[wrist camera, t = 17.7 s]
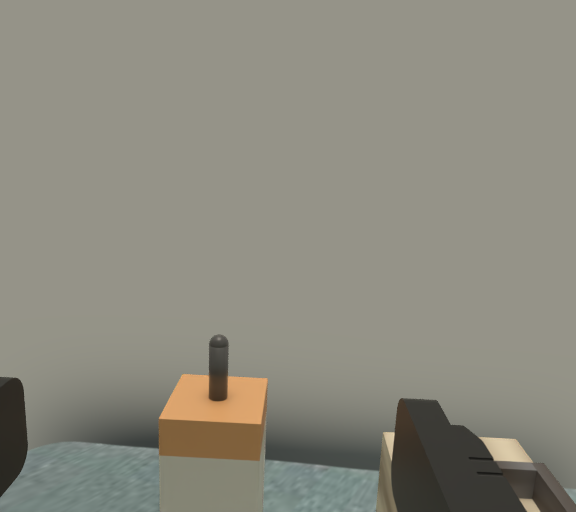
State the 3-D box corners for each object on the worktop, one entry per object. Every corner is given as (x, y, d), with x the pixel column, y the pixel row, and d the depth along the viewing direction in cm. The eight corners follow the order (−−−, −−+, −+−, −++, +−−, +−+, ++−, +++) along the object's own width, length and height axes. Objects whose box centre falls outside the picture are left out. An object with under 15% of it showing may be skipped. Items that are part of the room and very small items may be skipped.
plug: (161, 652, 27) (157, 351, 24) (182, 576, 32) (182, 317, 29) (252, 658, 27) (263, 356, 24) (260, 580, 32) (269, 321, 29)
